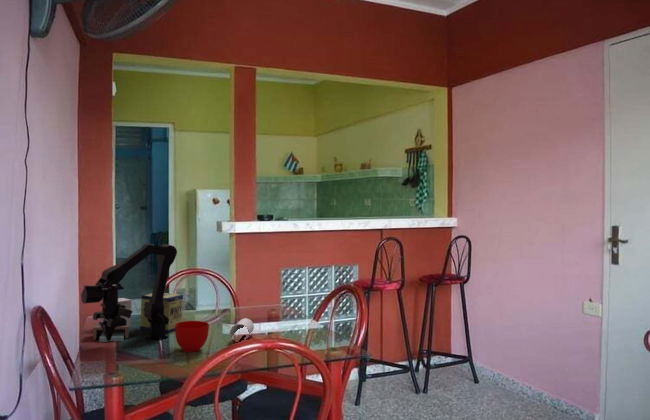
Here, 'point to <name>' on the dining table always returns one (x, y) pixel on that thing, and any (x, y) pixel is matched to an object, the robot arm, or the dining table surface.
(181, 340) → the ceramic cup
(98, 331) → the low shelf
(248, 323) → the white plastic bottle
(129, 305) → the supplement box
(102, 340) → the grey-blue square plate
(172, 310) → the protein box
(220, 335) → the dining table surface
